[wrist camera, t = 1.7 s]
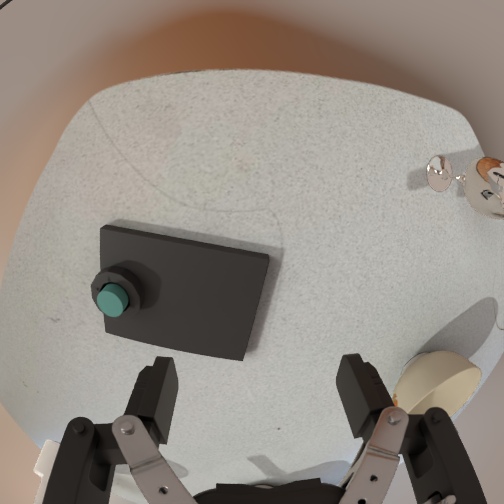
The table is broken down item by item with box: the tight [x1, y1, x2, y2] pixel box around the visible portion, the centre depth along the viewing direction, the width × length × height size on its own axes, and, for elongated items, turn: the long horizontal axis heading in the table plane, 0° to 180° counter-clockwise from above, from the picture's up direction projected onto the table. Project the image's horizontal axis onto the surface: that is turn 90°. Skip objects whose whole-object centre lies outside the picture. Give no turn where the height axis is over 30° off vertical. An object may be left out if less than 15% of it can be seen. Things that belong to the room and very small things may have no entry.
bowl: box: [392, 351, 482, 417], centre depth 32 cm, size 16×16×10 cm
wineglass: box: [427, 155, 504, 220], centre depth 20 cm, size 6×6×12 cm
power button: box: [97, 284, 128, 317], centre depth 26 cm, size 3×3×2 cm
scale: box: [91, 225, 269, 361], centre depth 28 cm, size 19×14×3 cm
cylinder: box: [33, 440, 60, 504], centre depth 39 cm, size 17×17×28 cm
